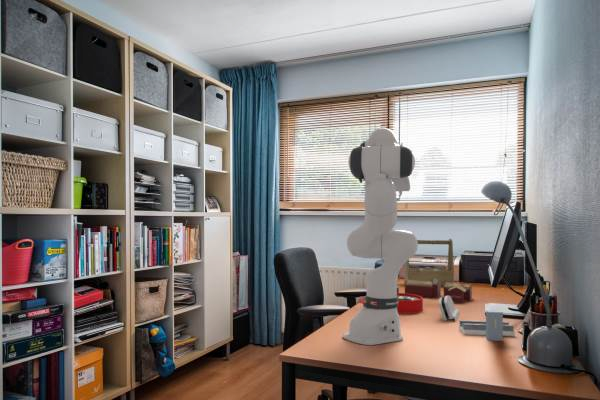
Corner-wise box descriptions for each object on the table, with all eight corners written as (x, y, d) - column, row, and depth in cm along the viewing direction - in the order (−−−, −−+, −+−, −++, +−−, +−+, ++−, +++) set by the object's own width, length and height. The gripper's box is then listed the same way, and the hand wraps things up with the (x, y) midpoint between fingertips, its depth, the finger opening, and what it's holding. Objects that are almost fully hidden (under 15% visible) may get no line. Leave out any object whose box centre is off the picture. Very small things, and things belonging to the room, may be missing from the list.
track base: (464, 334, 164) (464, 324, 164) (458, 328, 172) (458, 319, 172) (514, 336, 162) (514, 326, 162) (506, 330, 170) (506, 321, 170)
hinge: (456, 321, 183) (447, 298, 185) (445, 324, 185) (436, 301, 187) (460, 313, 198) (452, 292, 200) (449, 316, 200) (442, 294, 202)
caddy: (449, 284, 285) (449, 238, 286) (454, 286, 274) (454, 238, 275) (404, 283, 286) (404, 237, 287) (407, 286, 276) (407, 238, 277)
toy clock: (374, 298, 204) (386, 291, 222) (374, 310, 204) (386, 303, 222) (417, 302, 195) (426, 295, 212) (417, 315, 195) (426, 307, 212)
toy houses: (472, 298, 238) (472, 279, 238) (467, 305, 220) (467, 284, 220) (391, 290, 259) (391, 273, 259) (380, 296, 241) (380, 277, 241)
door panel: (488, 340, 156) (488, 312, 156) (486, 338, 158) (485, 310, 159) (503, 341, 155) (502, 312, 156) (500, 338, 158) (500, 311, 158)
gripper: (363, 173, 196) (364, 203, 199) (410, 171, 192) (410, 202, 195) (363, 170, 202) (364, 199, 205) (409, 169, 198) (409, 198, 201)
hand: (387, 200), depth 200 cm, fingers open, 8 cm apart
